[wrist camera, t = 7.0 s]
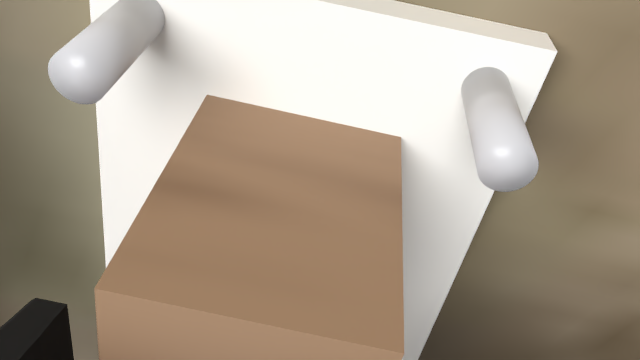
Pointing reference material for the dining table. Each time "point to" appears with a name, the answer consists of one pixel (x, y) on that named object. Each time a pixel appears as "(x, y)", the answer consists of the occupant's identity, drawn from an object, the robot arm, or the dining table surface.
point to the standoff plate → (321, 104)
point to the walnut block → (262, 245)
